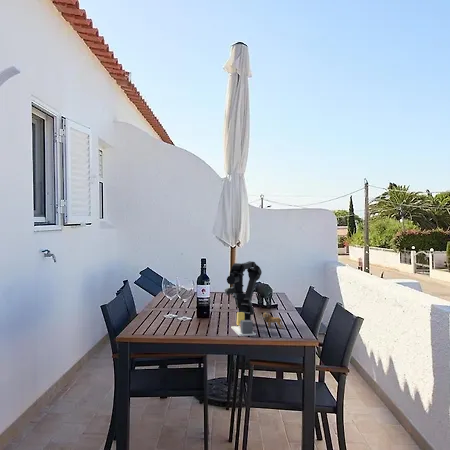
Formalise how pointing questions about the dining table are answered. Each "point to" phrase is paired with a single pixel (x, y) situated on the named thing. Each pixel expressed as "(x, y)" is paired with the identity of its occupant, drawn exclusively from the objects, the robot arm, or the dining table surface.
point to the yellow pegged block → (240, 317)
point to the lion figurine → (272, 320)
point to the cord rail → (238, 330)
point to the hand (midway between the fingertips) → (238, 307)
